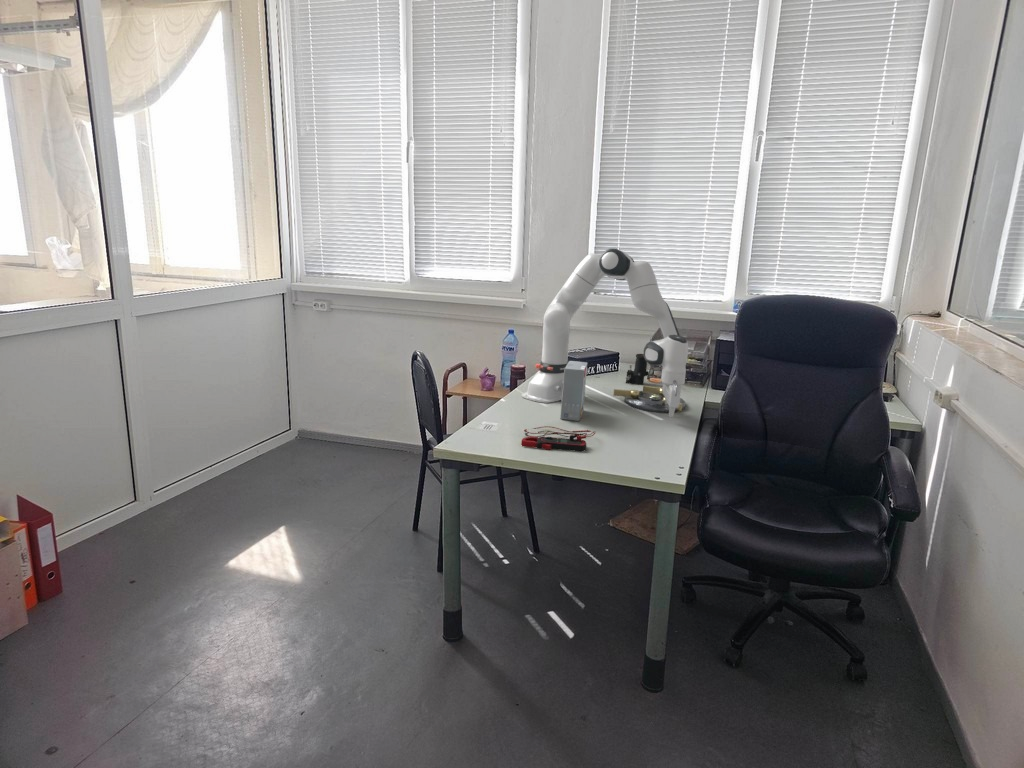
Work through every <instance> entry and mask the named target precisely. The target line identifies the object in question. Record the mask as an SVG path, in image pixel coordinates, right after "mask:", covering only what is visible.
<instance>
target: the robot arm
mask: <svg viewBox="0 0 1024 768" xmlns="http://www.w3.org/2000/svg"><path fill="white" fill-rule="evenodd" d="M606 276H607V277H608V278H611V279H615V280H618V281H626V282H627V284H628V289H629V293H630V299H631V302H632V304H633V306H634V307H635V308H636V309H637V310H639V311H640V312H643V313H646V314H648V315H650V316H652V317H653V318H655V319H656V321H657V322H658V325H659V329H660V330H661V333H662V336H663V338H661V339H655V340H652V341H651V340H650V341H648V342H647V343H646V344H645V346H644V348H643V354H644V358H645V360H646V362H647V364H649V365H651V366H662V368H661V376H660V382H661V383H662V386H661V388H662V392H663V395H664V397H665V408H666V409H669V413H667V414H668V416H669V417H672V418H673V417H674V415H675V412H674V411H675V408H679V405H680V398H681V386H682V385H685V380H686V374H687V373H686V372H687V368H686V365H687V362H688V356H689V342H688V340H687V339H686V338H685V337H684V336H681V335H680V333H679V330H678V327H677V325H676V322H675V319H674V317H673V314H672V311H671V308H670V306H669V304H668V303H667V302H666V300H665V299H664V298H663V296H662V294H661V291H660V288H659V285H658V281H657V277H656V274H655V272H654V269H653V267H652V265H651V264H650V263H649V262H648V261H645V260H638V261H637V260H636V261H634V259H633V258H632V257H631V256H630V255H629V254H628V253H627V252H625V251H621V250H620V249H618V248H608V249H606V250H604V251H603V252H602V253H601V254H597V253H589V254H587V255H585V257H584V258H583V259H582V260H581V261H580V262H579V263H578V265H577V266H576V267H575V268H574V270H573V271H572V273H571V274H570V276H569V277H568V279H566V281H565V282H564V284H563V285H562V287H561V289H559V291H558V293H557V294H556V295H555V297H554V298H553V299H552V301H551V302H550V304H549V305H548V306H547V308H546V309H545V310H546V311H545V312H544V314H543V322H542V351H541V360H540V363H536V364H535V369H538V371H537V372H536V373H535V375H534V376H533V377H532V379H531V380H530V381H529V382H528V386H527V391H525V392H523V393H521V397H522V398H524V399H526V400H529V401H532V402H537V403H544V404H547V403H554V402H558V401H562V392H563V380H564V369H565V367H566V365H567V364H568V362H569V360H568V359H569V358H568V357H569V344H570V328H571V326H570V325H571V320H572V319H573V317H574V316H575V314H576V313H577V312H578V311H579V309H580V308H581V307H582V305H583V304H584V303H586V300H587V299H588V298H589V296H590V295H591V293H592V292H593V290H594V289H595V288H596V286H597V284H598V283H599V281H600V280H601V279H602V278H604V277H606Z"/></svg>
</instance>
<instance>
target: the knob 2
mask: <svg viewBox="0 0 1024 768" xmlns="http://www.w3.org/2000/svg"><path fill="white" fill-rule="evenodd" d="M663 405H665V397H663ZM682 405H683V404H681V403H680V405H679V408H675V409H677V410H679V411H678V412H682V411H683V410H682Z"/></svg>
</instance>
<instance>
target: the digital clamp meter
mask: <svg viewBox="0 0 1024 768" xmlns="http://www.w3.org/2000/svg"><path fill="white" fill-rule="evenodd" d="M536 428H537V429H541V428H553V429H557V430H560V431H563V432H559V431H551V430H546V434H543V435H542V434H541V433H545V430H541V431H540V430H539V431H537V432H538V433H536V432H529V431H528V430H527V429H526V428H525V429H524V432H526V433H524V435H525V436H526V437H523V438H522V439H521V442H520V445H522V446H521V447H523V446H526V448H534V447H537V448H539V449H544V450H547V451H549V450H558V449H562V450H561V451H570V450H575V451H574V452H582V451H583V452H585V451H586V450H587V442H586V441H585V439H587V438H591V437H593V436H595V434H596V431H594V430H593V431H592V430H588V429H587V430H573V431H569V430H566V429H562V428H559V427H555V426H548V425H547V426H545V425H544V426H538V427H533V428H532V429H533V430H535V429H536ZM590 432H591V433H590ZM587 433H589V434H587ZM529 434H530V435H529ZM538 434H540V435H538ZM534 435H537V436H534ZM549 435H558V436H561V437H552V436H549ZM568 435H569V436H568ZM563 437H565V438H563ZM566 437H567V438H566ZM537 448H536V449H537ZM584 450H585V451H584Z"/></svg>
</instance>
